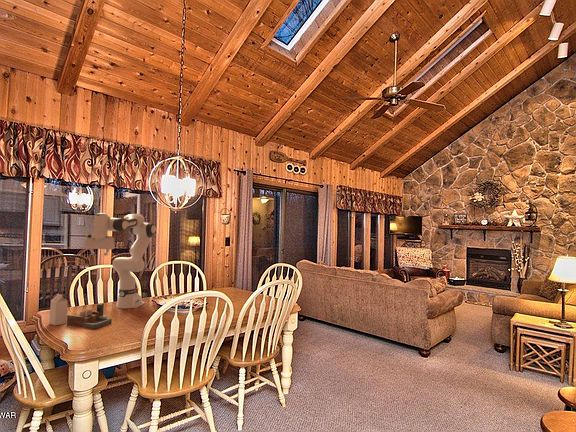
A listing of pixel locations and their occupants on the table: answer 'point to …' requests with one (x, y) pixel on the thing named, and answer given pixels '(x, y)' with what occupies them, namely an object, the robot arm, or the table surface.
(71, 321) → the channel block
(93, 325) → the tray
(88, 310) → the birch ball
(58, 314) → the milk carton
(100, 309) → the scraper
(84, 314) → the birch ball
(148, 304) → the table surface
